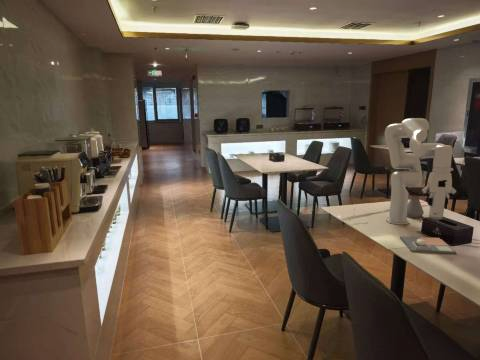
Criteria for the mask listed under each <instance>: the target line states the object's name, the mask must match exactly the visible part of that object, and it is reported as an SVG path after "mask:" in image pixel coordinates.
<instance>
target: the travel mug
mask: <svg viewBox="0 0 480 360" xmlns="http://www.w3.org/2000/svg"><path fill="white" fill-rule="evenodd" d="M445 182H447V180H443V181H438V187H437V190H436V193H434V194H433V196H432V199H433V200H432V206H429V211H428V218H430V219H431V220H438V221H439V220H443V219H444V214H445V213H444V212H445V206H444V205H445V197H446V186H445V185H446V184H445Z"/></svg>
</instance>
